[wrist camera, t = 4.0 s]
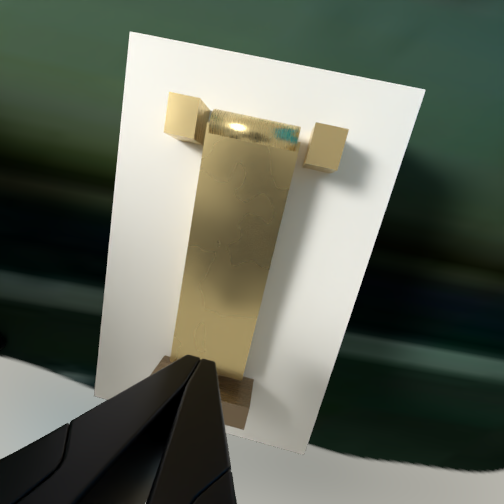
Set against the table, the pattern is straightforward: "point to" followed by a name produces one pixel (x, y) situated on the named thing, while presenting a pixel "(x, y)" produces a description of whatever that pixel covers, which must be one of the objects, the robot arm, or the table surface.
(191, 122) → the box
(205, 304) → the brass clasp lever
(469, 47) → the table surface
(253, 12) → the table surface
